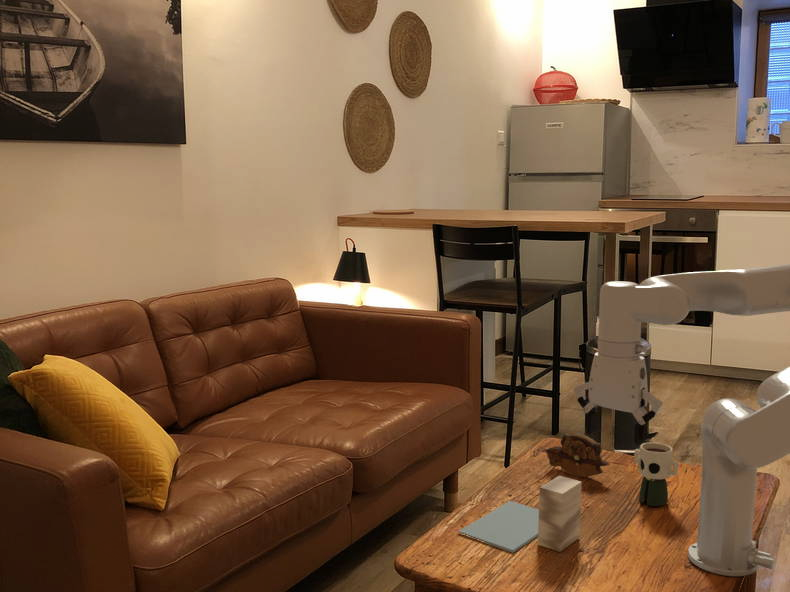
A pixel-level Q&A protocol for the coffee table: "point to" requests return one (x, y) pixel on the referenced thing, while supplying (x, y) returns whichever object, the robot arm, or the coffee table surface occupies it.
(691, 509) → the coffee table surface
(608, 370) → the robot arm
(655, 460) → the character mug
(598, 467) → the wooden carving
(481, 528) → the grey mat
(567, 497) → the birch block
